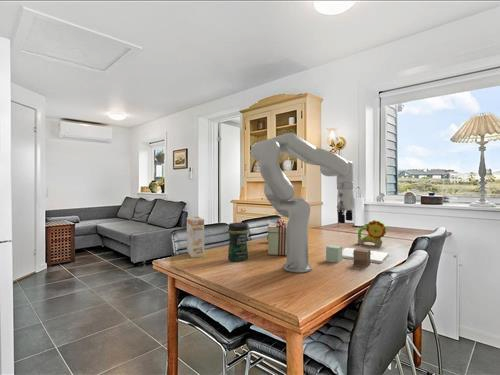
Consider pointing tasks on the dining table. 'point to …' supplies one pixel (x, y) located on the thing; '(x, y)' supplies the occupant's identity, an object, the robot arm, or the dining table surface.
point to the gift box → (277, 238)
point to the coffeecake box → (195, 236)
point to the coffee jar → (238, 241)
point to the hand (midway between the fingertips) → (345, 221)
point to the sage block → (334, 253)
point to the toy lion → (373, 233)
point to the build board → (374, 256)
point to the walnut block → (362, 257)
